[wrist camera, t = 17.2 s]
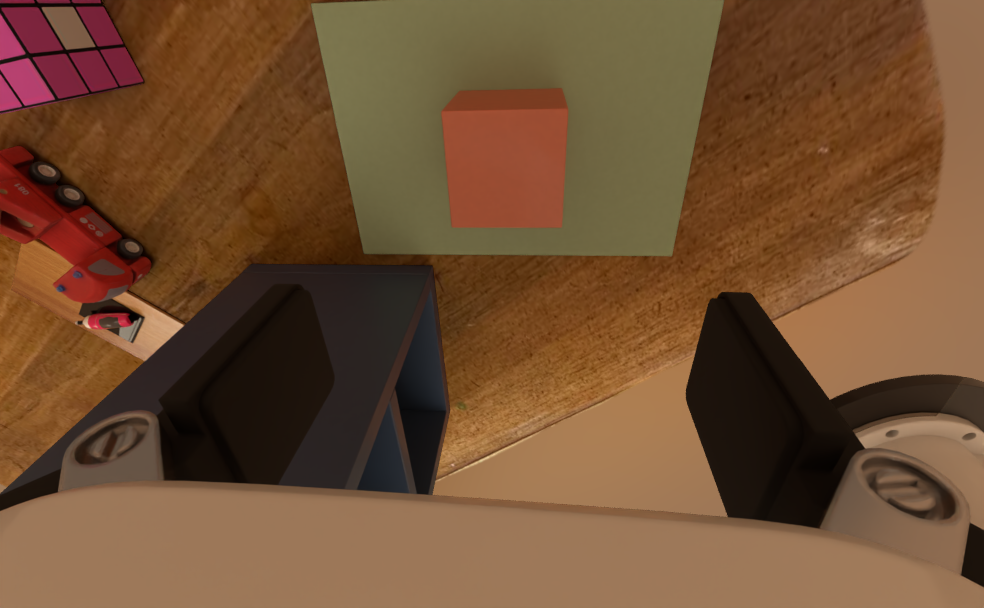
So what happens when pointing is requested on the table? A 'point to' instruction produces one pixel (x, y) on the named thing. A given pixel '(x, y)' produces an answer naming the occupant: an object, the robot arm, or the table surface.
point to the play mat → (520, 65)
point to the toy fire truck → (66, 229)
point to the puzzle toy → (59, 53)
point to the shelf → (357, 368)
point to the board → (93, 304)
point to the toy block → (506, 157)
